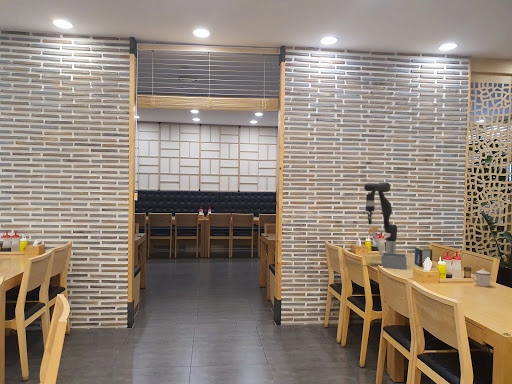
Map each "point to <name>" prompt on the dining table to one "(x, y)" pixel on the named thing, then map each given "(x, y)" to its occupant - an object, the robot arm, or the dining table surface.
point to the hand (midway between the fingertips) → (369, 223)
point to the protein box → (422, 255)
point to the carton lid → (375, 238)
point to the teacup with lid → (482, 278)
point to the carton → (393, 260)
